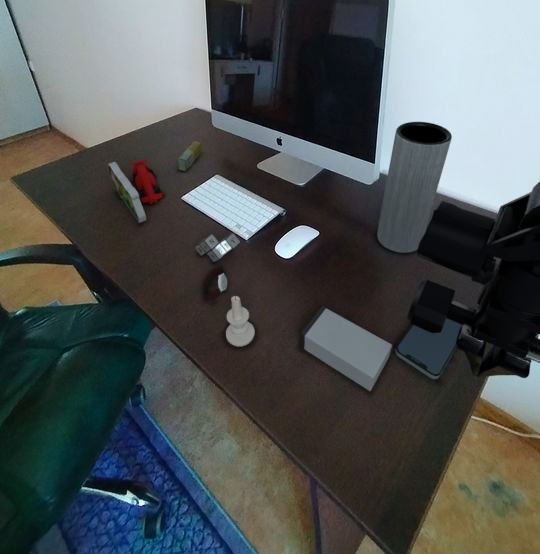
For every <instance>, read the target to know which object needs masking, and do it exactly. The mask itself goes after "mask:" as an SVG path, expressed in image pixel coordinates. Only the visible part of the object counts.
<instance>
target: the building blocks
mask: <svg viewBox="0 0 540 554" xmlns="http://www.w3.org/2000/svg"><path fill="white" fill-rule="evenodd" d="M240 243H241V240H240V239H239V238H238V237H237V235H235V233H234V232H232V233H230V234H228V235H226V236H225V237H223V238H222V239H220V240H218V239H217V238H216V236H215V235H214V234H213V233H210V234H209V235H208V236H205V237H204V238H202V239H201V240H200V241H199V242H198V243H197V244H195V245H194V246H193V247H194V249H195V250H196V252H197V253H198V254H199V255H200V256H201V257H202V256H204V255H207V256H208V257H209V259H210V260H211V261H212V262H213V263H216V262H217V261H219V260H220V259H222V258H223V257H224V256H225V255H226V254H227V253H229V252H231V251H232V250H234V249H235V248H236V247H238V245H239V244H240Z"/></svg>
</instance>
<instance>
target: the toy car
mask: <svg viewBox="0 0 540 554" xmlns="http://www.w3.org/2000/svg"><path fill="white" fill-rule="evenodd" d="M148 161H149V160H148V158H144V159H141V160H137V161H132V162H129V164H130V166H133V168H132V170H131V175H132V178H133V182H134V183H135V185H136V188H137V190H138V191H139V192H138V194H139V199H140V202H141V203H144V204H145V203H146V204H147V203H149V204H150V205H153V203H154V204H155V203H158V200H160V199H162V198H163V192H162V190H161V187H160V186H157V182H156V178H155V174H154V170H153V168H151V167H150V166H149V165H148V164H145V163H146V162H148ZM153 187H154V188H153Z"/></svg>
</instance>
